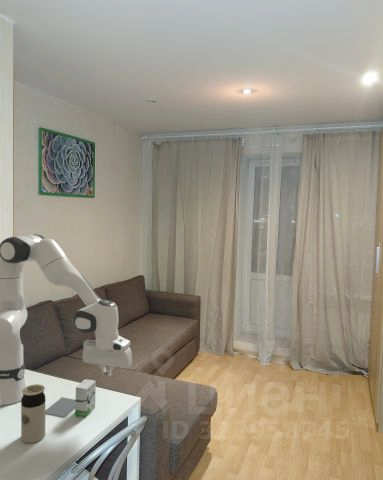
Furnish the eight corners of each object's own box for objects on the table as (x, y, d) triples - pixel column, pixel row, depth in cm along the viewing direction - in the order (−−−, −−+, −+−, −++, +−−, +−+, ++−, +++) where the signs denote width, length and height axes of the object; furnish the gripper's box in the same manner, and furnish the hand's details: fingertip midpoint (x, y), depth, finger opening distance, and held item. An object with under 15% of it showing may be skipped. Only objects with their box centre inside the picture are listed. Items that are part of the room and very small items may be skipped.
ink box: (86, 418, 149) (86, 389, 148) (74, 416, 150) (74, 387, 149) (95, 407, 157) (96, 379, 156) (85, 405, 158) (85, 378, 157)
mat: (42, 413, 151) (42, 412, 151) (61, 397, 164) (61, 397, 164) (64, 417, 149) (64, 416, 149) (82, 401, 161) (82, 400, 161)
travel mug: (38, 427, 141) (38, 381, 140) (49, 436, 136) (49, 388, 135) (17, 437, 135) (16, 389, 134) (28, 446, 130) (28, 396, 129)
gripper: (79, 341, 148) (79, 375, 149) (127, 347, 143) (127, 382, 144) (87, 336, 154) (87, 368, 155) (133, 341, 149) (133, 375, 150)
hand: (107, 375), depth 150 cm, fingers closed
